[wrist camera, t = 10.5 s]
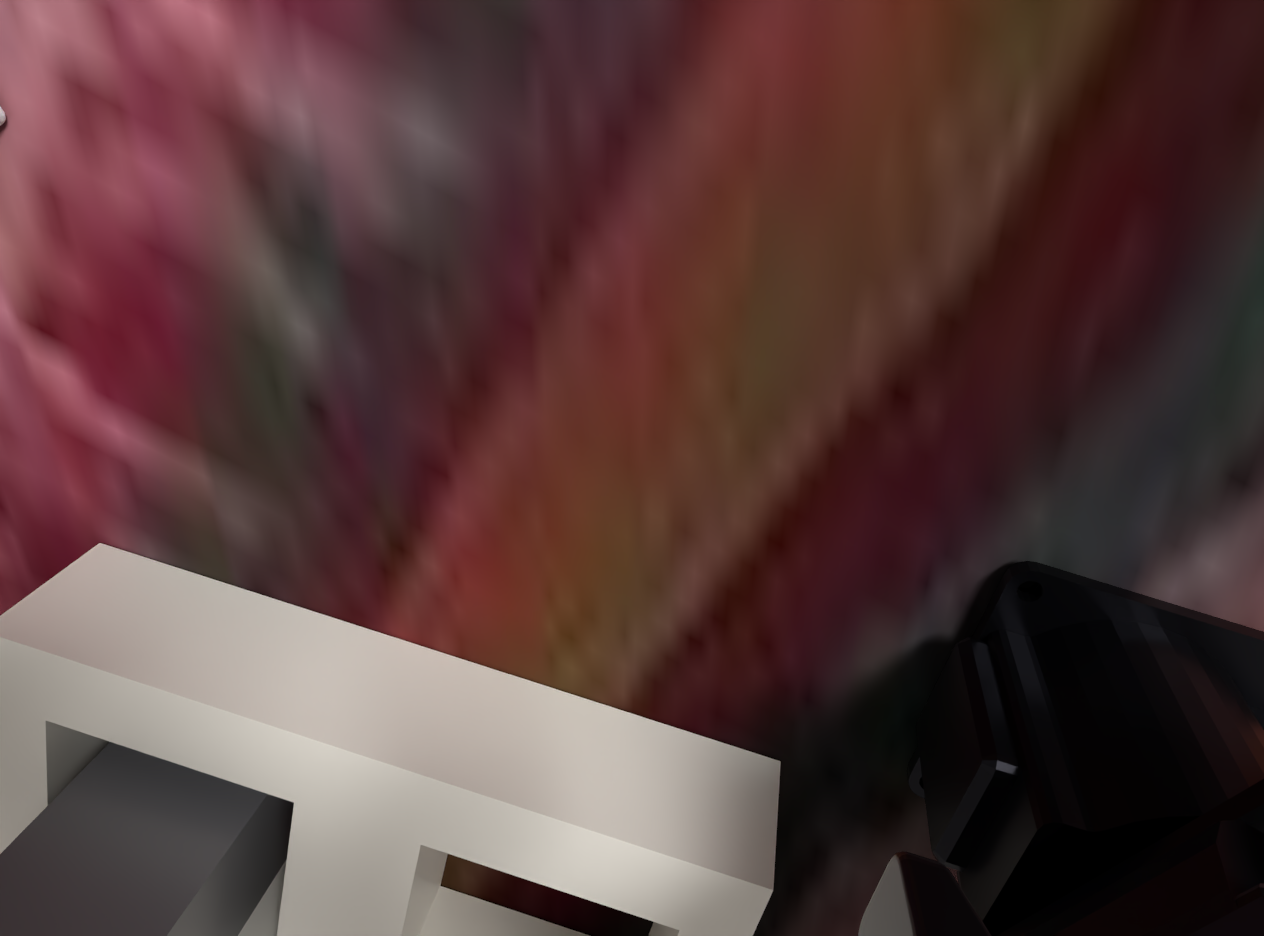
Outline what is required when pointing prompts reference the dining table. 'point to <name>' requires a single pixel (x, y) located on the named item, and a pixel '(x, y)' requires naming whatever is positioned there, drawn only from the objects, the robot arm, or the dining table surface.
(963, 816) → the robot arm
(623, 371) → the dining table surface
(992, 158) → the dining table surface
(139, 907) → the grey rectangular block
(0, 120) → the light bulb box
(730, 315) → the dining table surface
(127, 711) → the socket block
